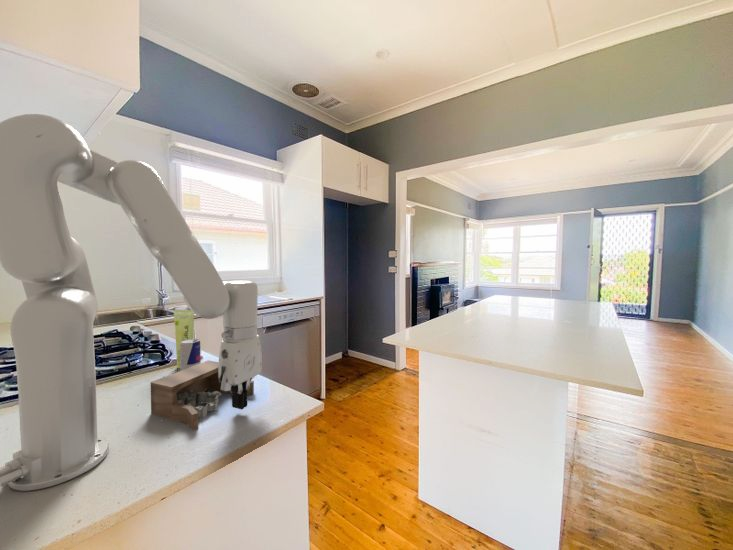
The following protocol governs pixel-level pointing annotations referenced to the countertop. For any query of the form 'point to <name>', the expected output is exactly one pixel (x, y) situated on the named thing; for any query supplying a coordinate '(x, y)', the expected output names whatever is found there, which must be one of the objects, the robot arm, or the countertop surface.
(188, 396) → the grey holed block
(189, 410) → the walnut garage
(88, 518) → the countertop surface
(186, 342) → the energy drink
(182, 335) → the tube
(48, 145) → the robot arm
